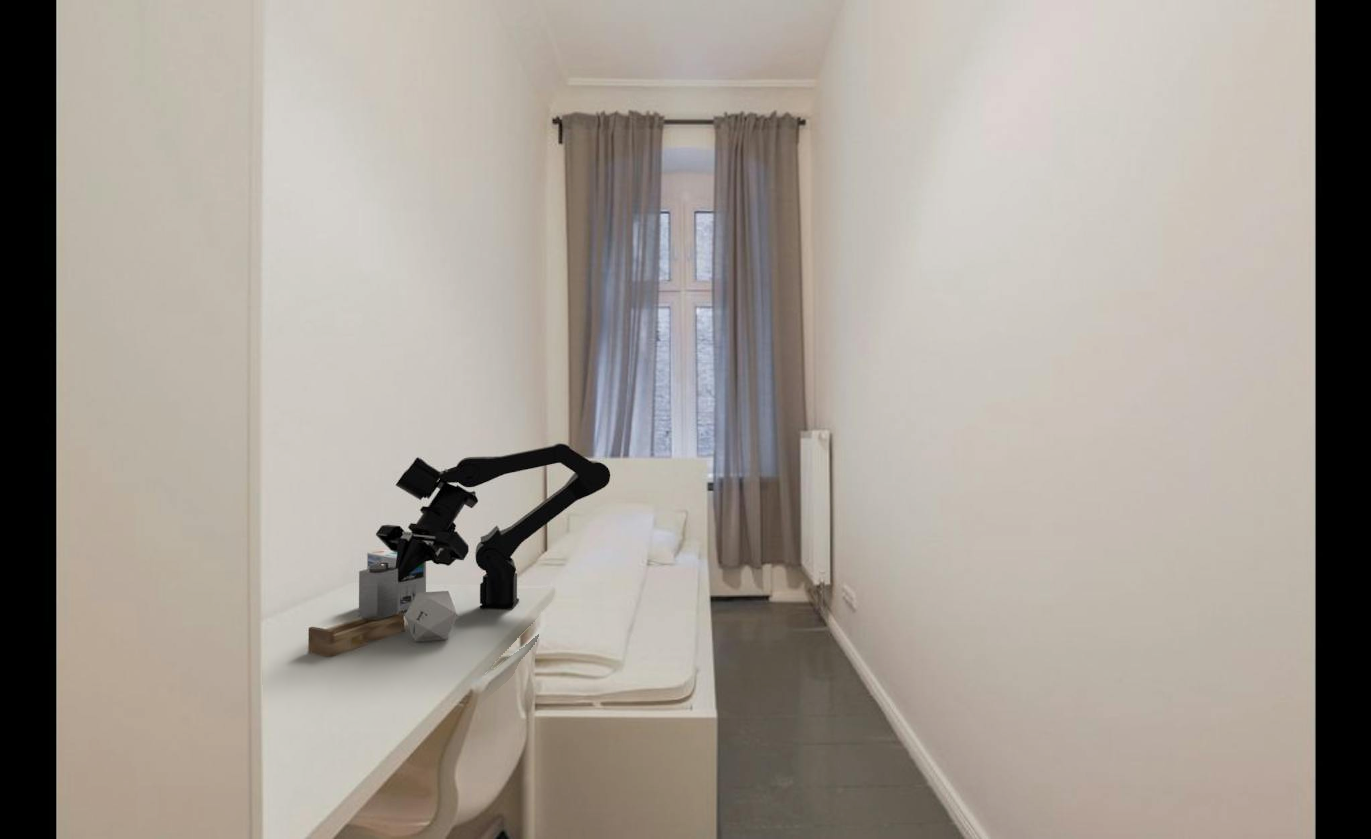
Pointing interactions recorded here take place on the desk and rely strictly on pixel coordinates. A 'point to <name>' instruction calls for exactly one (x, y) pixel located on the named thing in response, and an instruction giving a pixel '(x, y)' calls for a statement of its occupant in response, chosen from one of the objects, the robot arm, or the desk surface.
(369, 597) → the square grey bottle
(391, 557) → the light bulb box
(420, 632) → the die
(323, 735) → the desk surface
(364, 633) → the beam
